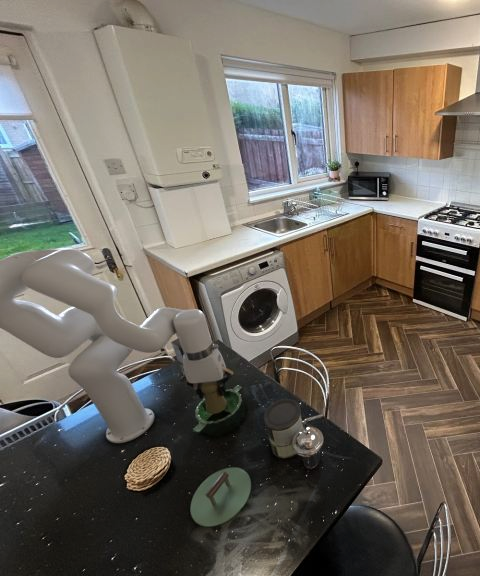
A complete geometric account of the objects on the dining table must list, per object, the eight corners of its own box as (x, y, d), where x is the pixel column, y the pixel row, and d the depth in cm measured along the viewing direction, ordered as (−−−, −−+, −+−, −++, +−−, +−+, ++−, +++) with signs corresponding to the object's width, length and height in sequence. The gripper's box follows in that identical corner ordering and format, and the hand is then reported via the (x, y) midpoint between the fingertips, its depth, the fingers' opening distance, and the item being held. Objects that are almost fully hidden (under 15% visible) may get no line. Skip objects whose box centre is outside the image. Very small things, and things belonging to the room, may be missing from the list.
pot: (183, 436, 98) (177, 423, 95) (227, 392, 114) (223, 379, 111) (218, 449, 95) (213, 435, 92) (258, 402, 110) (255, 389, 107)
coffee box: (192, 380, 119) (179, 347, 111) (182, 374, 122) (169, 341, 114) (214, 366, 126) (203, 334, 118) (204, 360, 129) (193, 329, 121)
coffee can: (264, 453, 94) (255, 422, 87) (284, 425, 102) (278, 395, 96) (293, 464, 91) (286, 433, 84) (311, 434, 99) (307, 404, 93)
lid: (177, 516, 79) (169, 502, 76) (221, 463, 91) (215, 449, 88) (224, 537, 75) (218, 524, 72) (263, 479, 87) (258, 465, 84)
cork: (218, 415, 98) (211, 390, 93) (201, 411, 99) (193, 387, 94) (230, 400, 104) (224, 376, 98) (214, 397, 104) (207, 373, 99)
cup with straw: (305, 445, 96) (297, 400, 86) (332, 453, 94) (327, 408, 84) (291, 472, 89) (281, 426, 79) (319, 481, 87) (313, 435, 77)
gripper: (233, 338, 95) (243, 382, 104) (171, 344, 91) (187, 388, 100) (227, 355, 88) (239, 399, 97) (160, 361, 85) (178, 407, 94)
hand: (212, 393), depth 99 cm, fingers closed on cork, 5 cm apart
